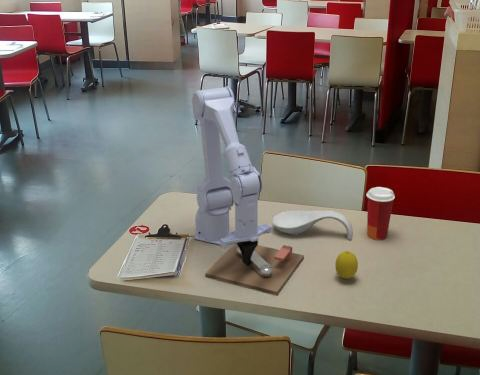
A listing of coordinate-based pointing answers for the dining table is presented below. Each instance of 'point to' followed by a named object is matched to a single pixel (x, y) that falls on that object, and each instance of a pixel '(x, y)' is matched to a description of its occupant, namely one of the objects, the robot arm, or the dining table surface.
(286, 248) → the keeper
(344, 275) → the lemon
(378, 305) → the dining table surface
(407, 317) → the dining table surface
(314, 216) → the spoon rest
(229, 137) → the robot arm
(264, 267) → the link
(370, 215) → the paper cup
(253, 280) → the board
